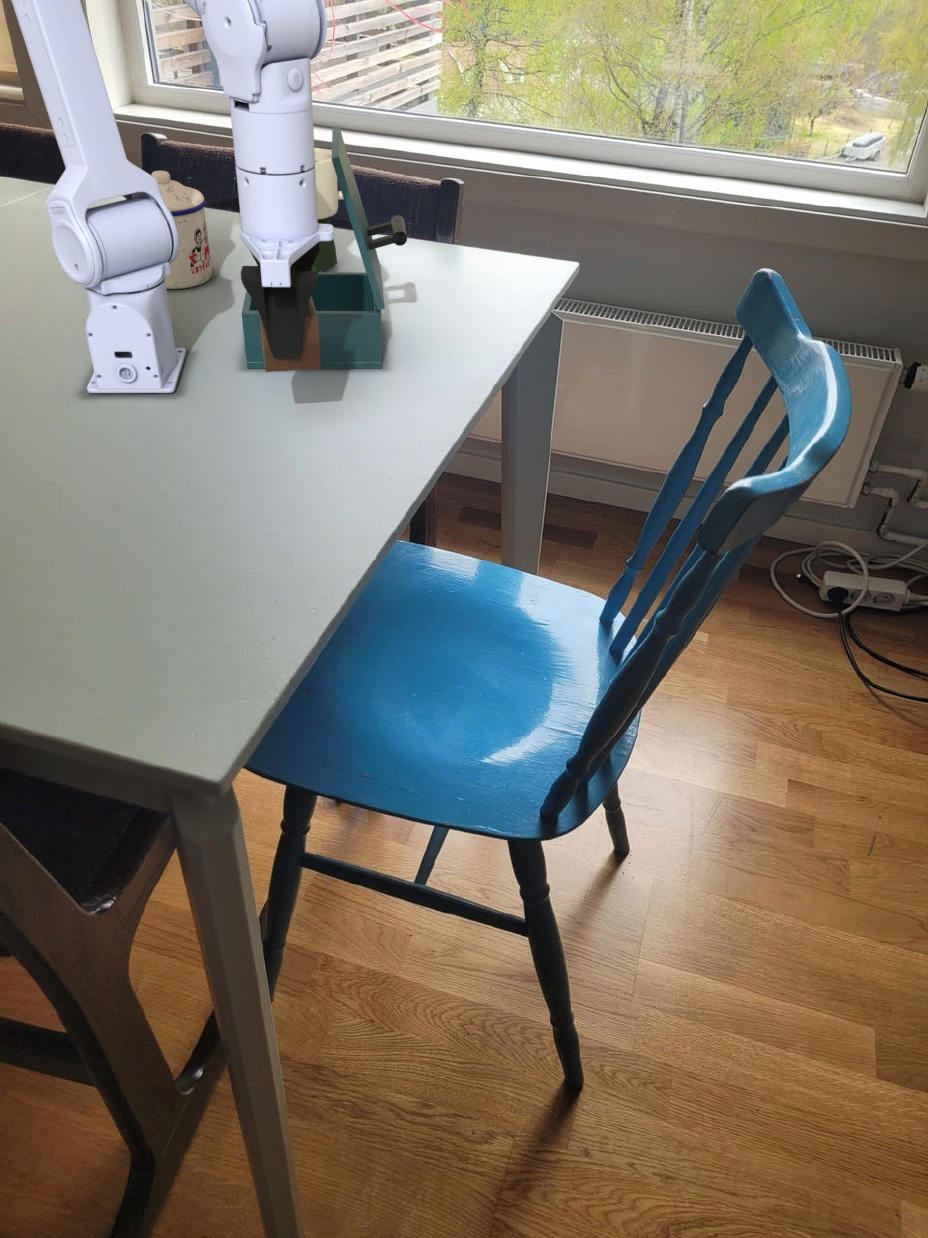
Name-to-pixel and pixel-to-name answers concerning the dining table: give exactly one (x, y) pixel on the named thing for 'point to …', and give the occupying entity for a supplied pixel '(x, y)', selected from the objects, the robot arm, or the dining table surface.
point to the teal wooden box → (331, 323)
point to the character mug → (325, 206)
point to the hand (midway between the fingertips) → (288, 343)
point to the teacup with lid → (186, 233)
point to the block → (308, 352)
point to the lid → (364, 219)
